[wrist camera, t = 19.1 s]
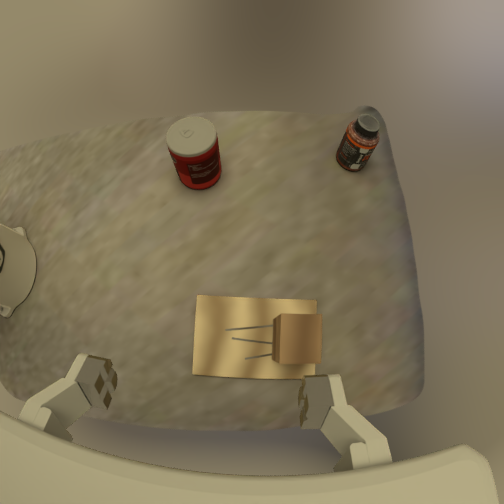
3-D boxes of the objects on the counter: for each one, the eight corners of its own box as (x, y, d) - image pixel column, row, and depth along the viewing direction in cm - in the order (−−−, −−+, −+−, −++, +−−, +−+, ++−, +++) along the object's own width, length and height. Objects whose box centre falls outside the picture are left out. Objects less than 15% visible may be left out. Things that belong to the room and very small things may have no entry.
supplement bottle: (359, 177, 53) (381, 142, 42) (331, 163, 53) (347, 125, 43) (367, 155, 54) (388, 119, 43) (340, 142, 55) (356, 104, 44)
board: (193, 373, 42) (192, 374, 41) (198, 296, 46) (197, 294, 45) (312, 377, 42) (314, 378, 41) (314, 301, 46) (316, 299, 45)
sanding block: (271, 359, 42) (279, 363, 33) (273, 319, 44) (281, 313, 35) (305, 359, 42) (320, 363, 33) (306, 320, 44) (322, 314, 35)
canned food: (190, 150, 54) (180, 111, 43) (228, 162, 53) (225, 122, 42) (171, 183, 52) (155, 147, 41) (211, 196, 51) (203, 160, 40)
